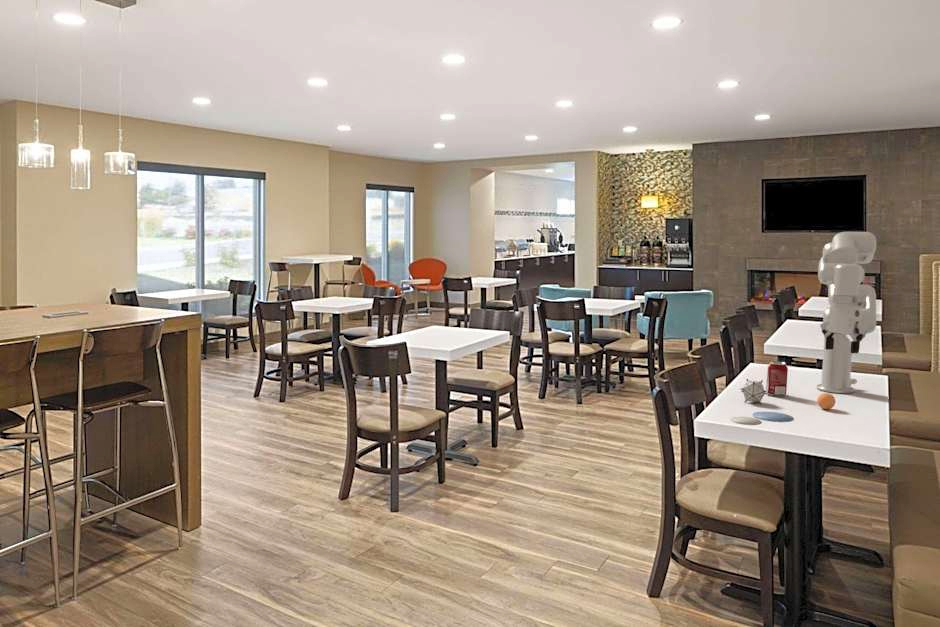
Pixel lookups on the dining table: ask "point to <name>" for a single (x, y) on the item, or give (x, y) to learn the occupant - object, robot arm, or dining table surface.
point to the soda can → (776, 378)
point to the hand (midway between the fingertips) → (841, 351)
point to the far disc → (746, 420)
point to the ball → (826, 401)
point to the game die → (753, 391)
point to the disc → (773, 416)
